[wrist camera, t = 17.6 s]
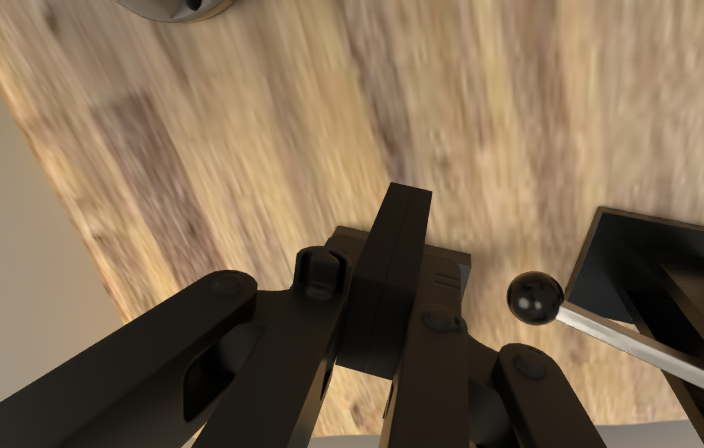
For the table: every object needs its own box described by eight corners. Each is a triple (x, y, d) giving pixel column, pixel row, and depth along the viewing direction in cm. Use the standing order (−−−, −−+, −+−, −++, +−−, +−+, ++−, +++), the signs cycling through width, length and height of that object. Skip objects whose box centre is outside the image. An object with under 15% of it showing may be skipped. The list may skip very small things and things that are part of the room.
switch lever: (511, 298, 34) (492, 318, 31) (526, 256, 32) (506, 272, 30) (769, 419, 26) (772, 460, 23) (804, 370, 24) (811, 407, 22)
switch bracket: (561, 301, 40) (615, 453, 26) (598, 206, 36) (685, 323, 22) (710, 334, 38) (858, 518, 24) (766, 238, 34) (980, 389, 20)
